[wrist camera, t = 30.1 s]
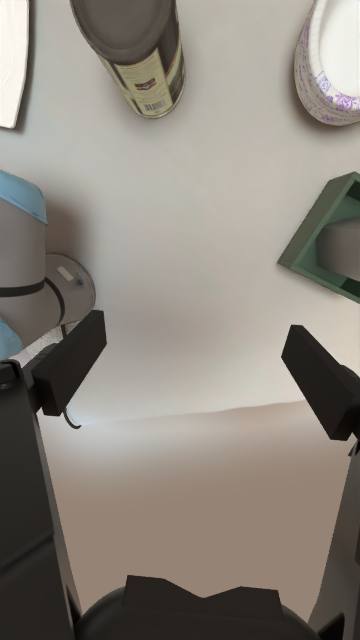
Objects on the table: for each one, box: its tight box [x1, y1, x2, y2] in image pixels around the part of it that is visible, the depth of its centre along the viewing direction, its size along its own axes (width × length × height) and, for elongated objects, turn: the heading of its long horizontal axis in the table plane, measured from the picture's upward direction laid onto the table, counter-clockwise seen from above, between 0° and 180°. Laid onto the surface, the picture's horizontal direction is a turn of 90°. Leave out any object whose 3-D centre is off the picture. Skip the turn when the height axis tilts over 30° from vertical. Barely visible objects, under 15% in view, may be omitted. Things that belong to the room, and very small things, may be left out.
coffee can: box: [70, 0, 186, 119], centre depth 27 cm, size 10×10×14 cm
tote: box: [278, 172, 360, 304], centre depth 37 cm, size 15×14×7 cm
